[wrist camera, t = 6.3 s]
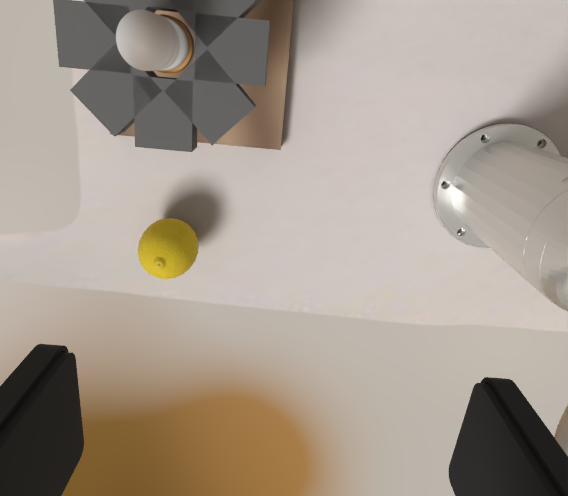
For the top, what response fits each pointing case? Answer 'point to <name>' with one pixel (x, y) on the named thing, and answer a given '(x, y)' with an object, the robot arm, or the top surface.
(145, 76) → the grey flat ring
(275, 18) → the pipe stand
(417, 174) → the top surface
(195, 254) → the lemon
